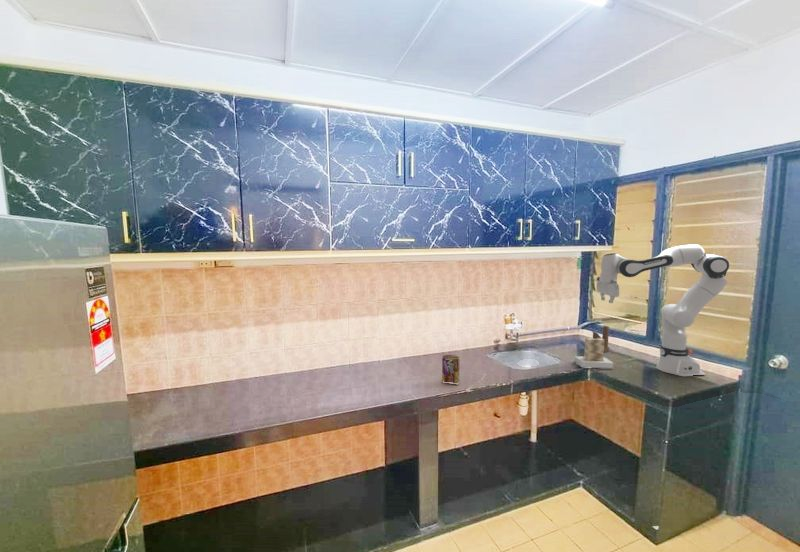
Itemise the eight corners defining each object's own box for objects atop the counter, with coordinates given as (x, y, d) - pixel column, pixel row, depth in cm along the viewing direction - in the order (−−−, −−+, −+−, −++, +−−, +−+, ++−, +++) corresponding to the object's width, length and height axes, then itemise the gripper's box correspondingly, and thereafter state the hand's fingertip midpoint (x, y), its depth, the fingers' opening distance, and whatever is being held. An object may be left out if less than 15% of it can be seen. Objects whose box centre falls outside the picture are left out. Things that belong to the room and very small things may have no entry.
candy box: (459, 382, 182) (459, 355, 180) (458, 385, 178) (458, 358, 176) (443, 380, 185) (443, 353, 183) (441, 383, 181) (442, 356, 179)
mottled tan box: (600, 363, 207) (602, 338, 205) (602, 365, 204) (604, 340, 202) (583, 363, 207) (585, 338, 206) (585, 364, 204) (587, 339, 203)
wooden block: (591, 351, 231) (593, 326, 229) (604, 350, 234) (606, 325, 232) (595, 353, 228) (597, 327, 226) (608, 352, 230) (610, 326, 228)
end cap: (604, 363, 210) (604, 357, 209) (612, 369, 200) (613, 363, 199) (574, 362, 211) (574, 356, 211) (581, 368, 202) (581, 362, 201)
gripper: (623, 281, 195) (621, 305, 197) (605, 277, 215) (604, 298, 217) (612, 281, 196) (610, 304, 197) (595, 277, 216) (593, 298, 217)
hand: (606, 301), depth 207 cm, fingers open, 8 cm apart
